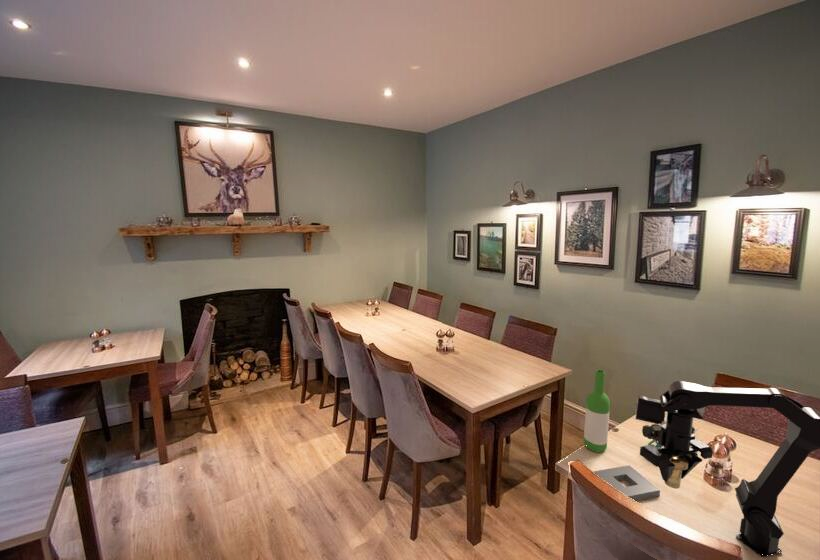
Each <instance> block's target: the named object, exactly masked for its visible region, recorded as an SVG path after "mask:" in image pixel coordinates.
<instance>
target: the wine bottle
mask: <svg viewBox="0 0 820 560" xmlns="http://www.w3.org/2000/svg"><path fill="white" fill-rule="evenodd" d="M605 376H606V372H605V371H604V370H602V369H597V370H595V376H594V377H595V379H594V387H593V388H594V390H592V391H591V392H589V393H588V395H587V397H586V404H585V405H586V406H585V416H584V432H583V444H584V446H585V448H587V449H588V450H590V451H592V452H595V453H603V452H605V451H607V450H606V449H607V447H608V436H609V424H610V423H609V422H610V410H611V401H610V399H609V396H608V395H607V394H606V393H605V392H604V390H605V378H606V377H605ZM586 445H587V446H586Z"/></svg>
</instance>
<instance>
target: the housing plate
mask: <svg viewBox="0 0 820 560" xmlns="http://www.w3.org/2000/svg"><path fill="white" fill-rule="evenodd" d="M593 472H594V473H595V474H596V475H598V476H599V477H600V478H602V479H603V480H605V481H606V482H608V483H609V484H611V485H612V486H613V487H614V488H616V489H617V490H619V491H621V492H622V493H624V494H625V495H627V496H628V497H630V498H632V499H634V500H636V501H635V502H637V501H641V500H645V499H651V498H655V497H660V494H661V489H659V488H658V487H657V486H656V485H654V484H653V483H652V482H650V480H649V479H647V478H646V477H645V476H643V475H642V474H641V473H639V471H637V470H636V469H635V468H633V467H632V466H631V465H630V464H629V465H623V466H617V467H616V466H615V467H611V468H605V469H600V470H595V471H594V470H593V471H592V473H593ZM620 481H627V482H628V483H629V484H630V485H628V486H624V485H623V484H622V483H621V482H620Z"/></svg>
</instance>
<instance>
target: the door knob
mask: <svg viewBox="0 0 820 560" xmlns="http://www.w3.org/2000/svg"><path fill="white" fill-rule="evenodd" d="M671 462H672V463H673V464H674V465H675V467H674V470H673V472H672V474H671V476H670V478H669V479H668V481H667V482H665V481H664V480H663V481H664V484H665V485H666V486H667V487H668V488H671V489H680V487H681V482H682V479H681V474H682V470H686V469H688V460H687V459H686V458H685V457H684V456H682V455H681V456H676V457H672V459H671Z"/></svg>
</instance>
